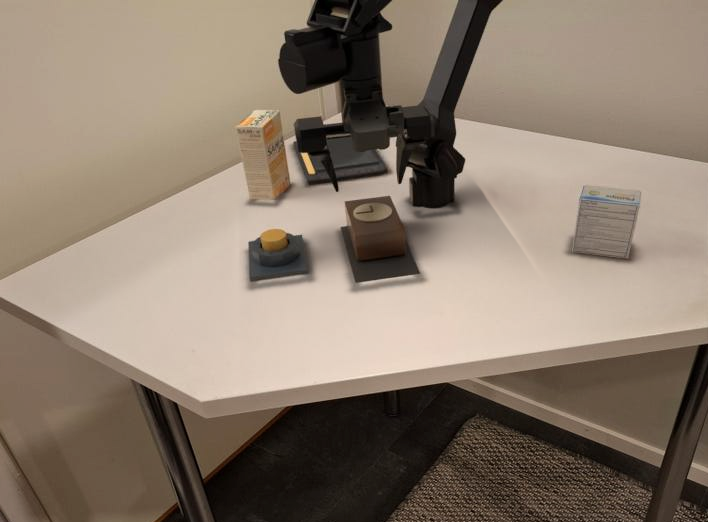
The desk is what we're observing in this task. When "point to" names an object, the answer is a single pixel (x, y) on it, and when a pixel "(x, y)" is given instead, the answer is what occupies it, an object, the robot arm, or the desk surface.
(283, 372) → the desk surface
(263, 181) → the supplement box
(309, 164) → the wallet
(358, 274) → the dark grey flat slab
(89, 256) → the desk surface
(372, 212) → the alarm clock
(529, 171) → the desk surface
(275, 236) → the button
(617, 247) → the medicine box
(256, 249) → the switch block
